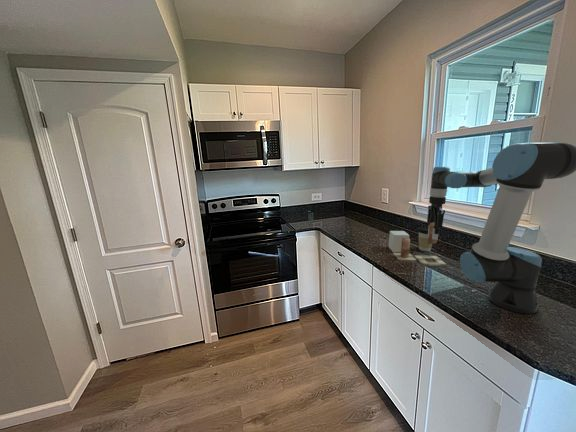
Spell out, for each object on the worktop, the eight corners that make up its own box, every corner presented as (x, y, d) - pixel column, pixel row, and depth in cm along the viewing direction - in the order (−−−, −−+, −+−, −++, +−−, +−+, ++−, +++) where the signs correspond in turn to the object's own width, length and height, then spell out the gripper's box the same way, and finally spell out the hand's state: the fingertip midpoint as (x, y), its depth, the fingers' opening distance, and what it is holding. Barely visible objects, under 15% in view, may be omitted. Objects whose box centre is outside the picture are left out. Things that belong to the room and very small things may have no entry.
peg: (438, 243, 136) (440, 224, 133) (430, 243, 136) (432, 224, 133) (434, 240, 140) (436, 222, 137) (426, 240, 140) (428, 222, 137)
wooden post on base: (416, 262, 142) (419, 242, 139) (398, 262, 143) (400, 242, 140) (409, 255, 153) (411, 236, 150) (392, 255, 154) (394, 236, 151)
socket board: (446, 268, 134) (446, 264, 134) (423, 268, 135) (423, 263, 135) (435, 259, 146) (435, 255, 145) (414, 259, 147) (414, 255, 146)
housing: (407, 254, 154) (409, 235, 151) (392, 254, 155) (394, 235, 152) (402, 249, 163) (404, 230, 160) (388, 249, 164) (389, 230, 161)
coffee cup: (435, 254, 153) (438, 231, 150) (418, 253, 155) (421, 231, 151) (430, 249, 162) (432, 227, 159) (414, 248, 164) (416, 226, 161)
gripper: (454, 198, 123) (448, 243, 128) (437, 193, 140) (432, 233, 145) (438, 199, 124) (433, 243, 129) (423, 193, 140) (418, 233, 146)
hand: (432, 237), depth 137 cm, fingers closed on peg, 4 cm apart
